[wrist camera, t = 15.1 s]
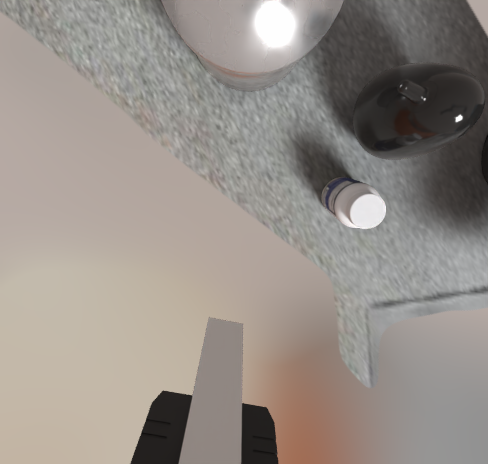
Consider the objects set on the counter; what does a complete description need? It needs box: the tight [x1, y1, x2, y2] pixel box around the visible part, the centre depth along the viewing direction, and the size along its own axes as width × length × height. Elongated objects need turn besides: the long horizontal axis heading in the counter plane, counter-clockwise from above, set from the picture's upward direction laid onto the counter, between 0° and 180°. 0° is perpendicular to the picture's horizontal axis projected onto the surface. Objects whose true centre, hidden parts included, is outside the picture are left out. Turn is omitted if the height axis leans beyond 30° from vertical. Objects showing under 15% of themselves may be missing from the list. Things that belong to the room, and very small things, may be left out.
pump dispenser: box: [353, 62, 485, 160], centre depth 31 cm, size 10×10×15 cm
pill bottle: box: [322, 177, 386, 229], centre depth 37 cm, size 5×5×10 cm
